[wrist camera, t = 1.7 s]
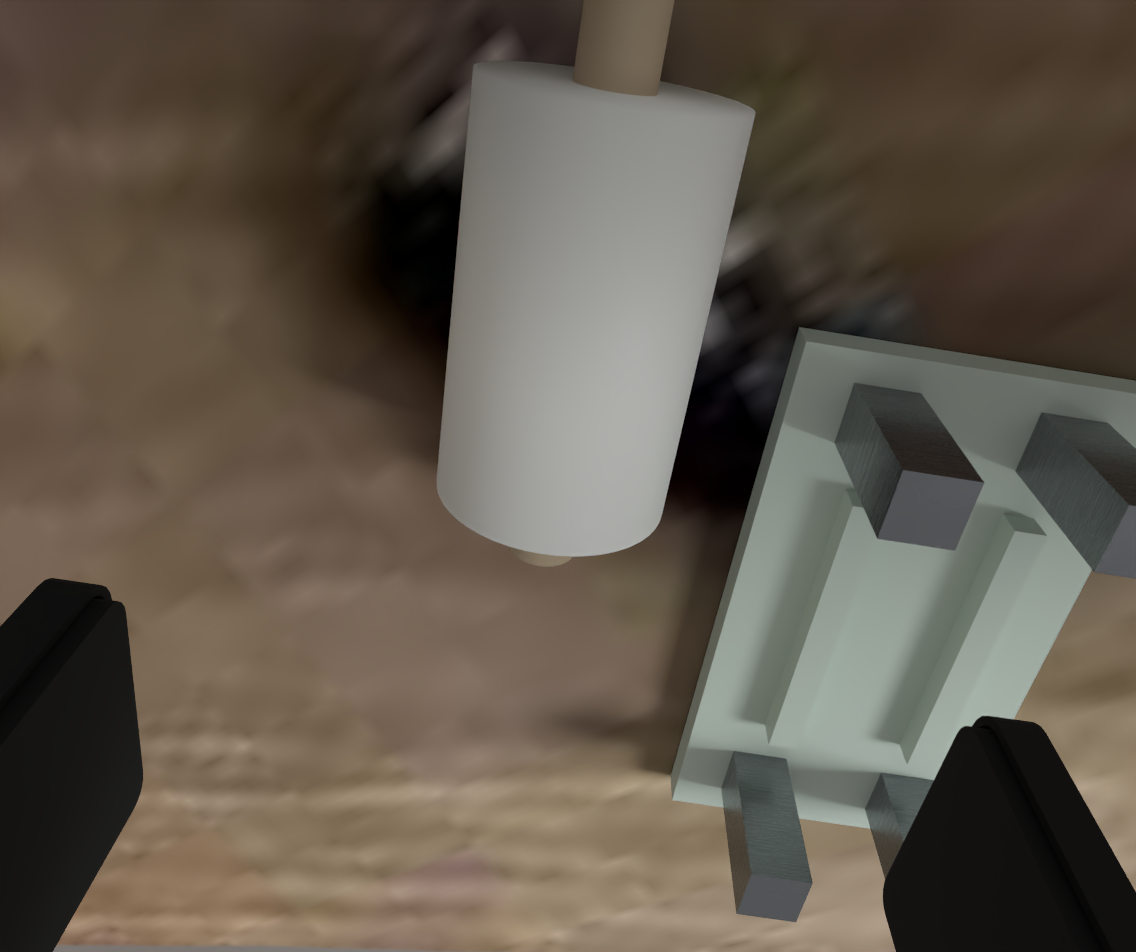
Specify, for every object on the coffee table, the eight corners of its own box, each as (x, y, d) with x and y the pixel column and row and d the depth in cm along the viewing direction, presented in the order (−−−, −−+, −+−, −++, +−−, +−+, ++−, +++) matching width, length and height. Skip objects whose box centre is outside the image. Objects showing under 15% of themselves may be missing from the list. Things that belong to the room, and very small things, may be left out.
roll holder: (1159, 384, 27) (1299, 493, 22) (940, 815, 37) (999, 970, 31) (799, 326, 27) (845, 422, 21) (670, 776, 36) (679, 925, 31)
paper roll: (759, 10, 23) (799, 23, 17) (648, 508, 31) (650, 633, 25) (503, -34, 23) (457, -35, 17) (452, 476, 30) (409, 594, 25)
